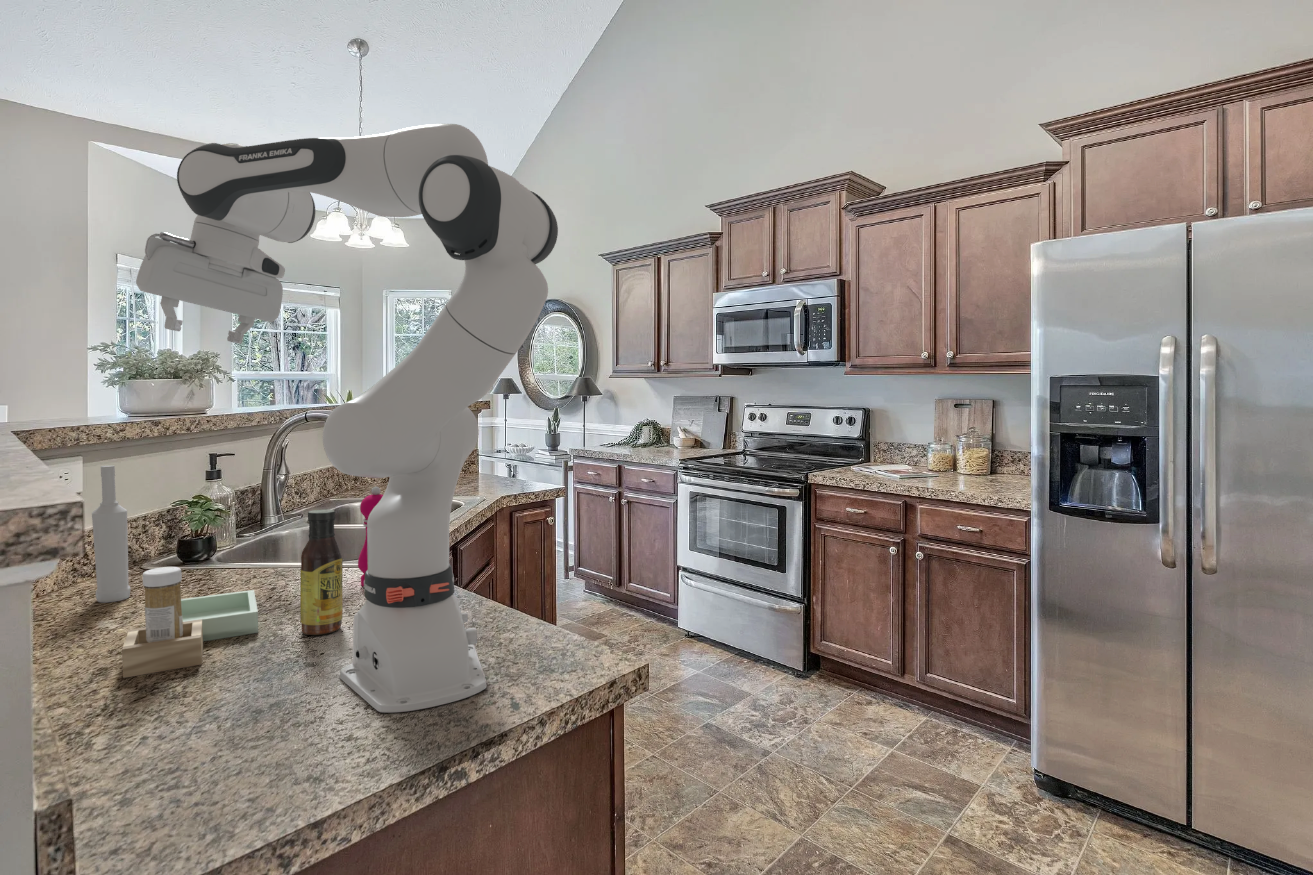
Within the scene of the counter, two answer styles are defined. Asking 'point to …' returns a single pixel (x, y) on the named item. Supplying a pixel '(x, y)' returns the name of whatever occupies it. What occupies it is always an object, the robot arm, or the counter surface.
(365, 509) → the pepper mill
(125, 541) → the bottle
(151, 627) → the sprinkles bottle
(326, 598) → the sauce bottle
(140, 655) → the maple holder
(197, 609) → the sage tray
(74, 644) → the counter surface
